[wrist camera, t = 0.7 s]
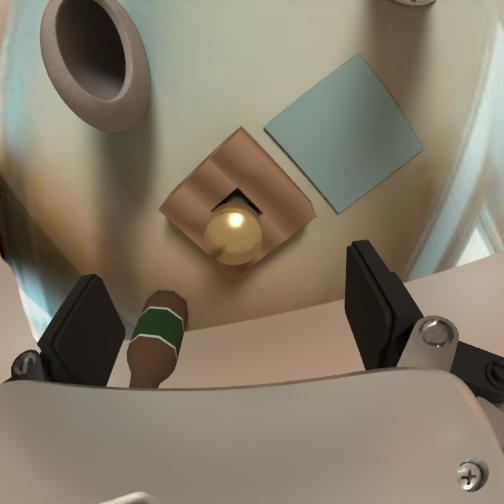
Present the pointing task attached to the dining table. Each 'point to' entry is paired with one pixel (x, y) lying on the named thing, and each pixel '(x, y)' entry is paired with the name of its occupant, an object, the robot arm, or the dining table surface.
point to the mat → (346, 133)
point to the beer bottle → (157, 339)
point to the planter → (96, 62)
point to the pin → (234, 231)
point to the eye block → (251, 184)
